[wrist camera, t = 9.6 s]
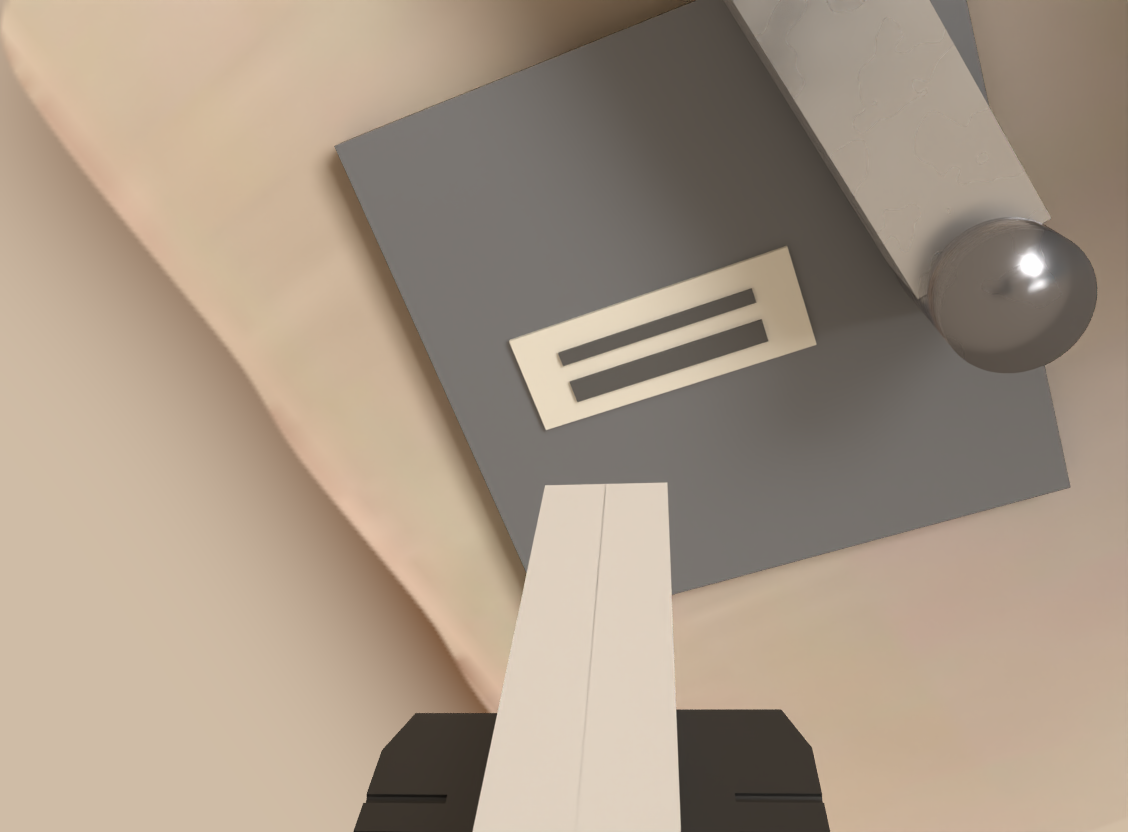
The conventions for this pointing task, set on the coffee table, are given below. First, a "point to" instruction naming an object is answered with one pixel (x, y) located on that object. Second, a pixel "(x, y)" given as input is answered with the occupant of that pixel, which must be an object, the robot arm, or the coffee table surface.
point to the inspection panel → (685, 306)
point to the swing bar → (928, 173)
